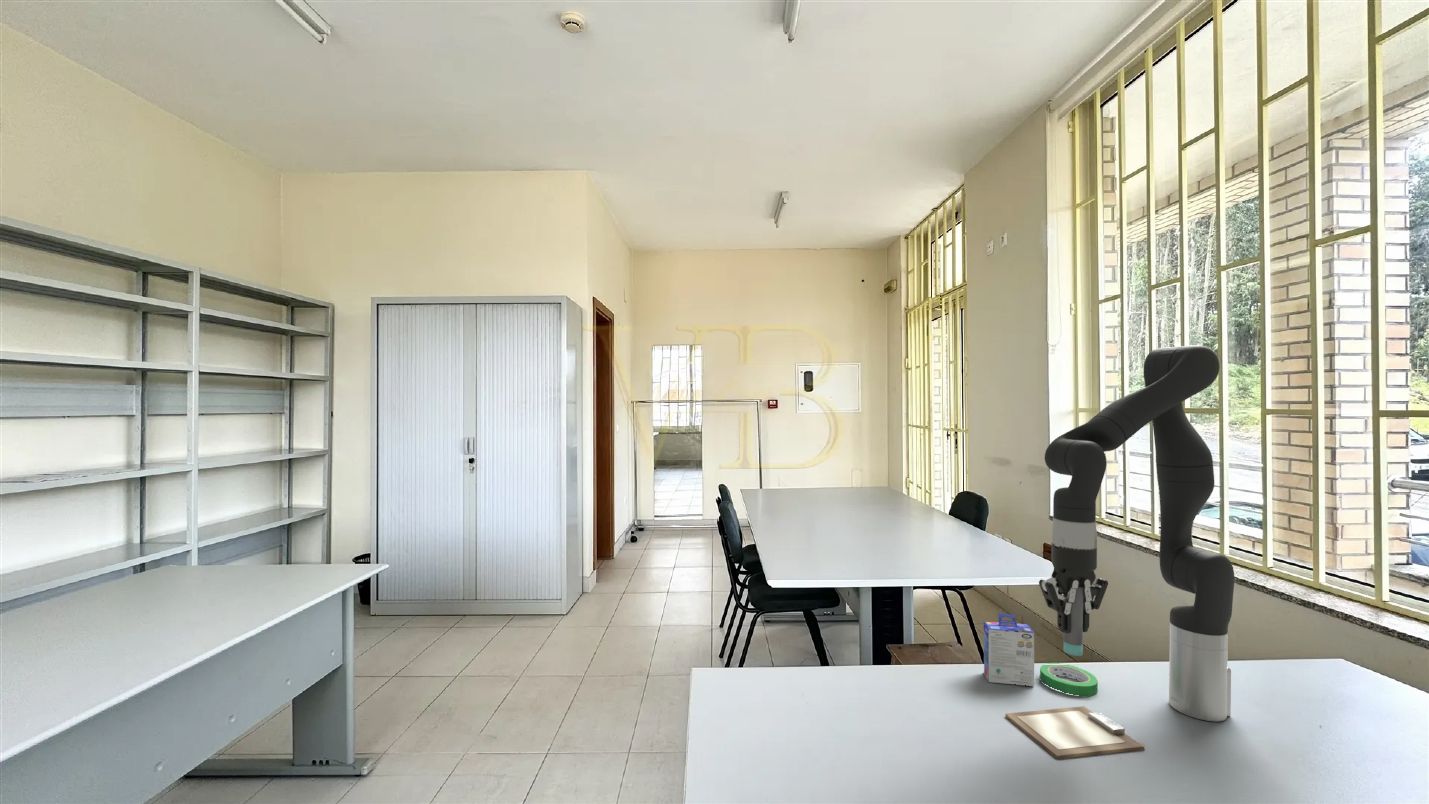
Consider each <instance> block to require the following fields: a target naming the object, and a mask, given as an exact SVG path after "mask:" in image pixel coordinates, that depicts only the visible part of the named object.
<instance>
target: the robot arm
mask: <svg viewBox="0 0 1429 804" xmlns="http://www.w3.org/2000/svg"><path fill="white" fill-rule="evenodd" d="M1220 365H1221V364H1220V361H1219V357H1218V355H1217V354H1216V353H1215V352H1214V350H1213V349H1212V348H1210V347H1207V346H1204V345H1196V344H1194V345H1193V344H1192V345H1179V346H1169V347H1159V348H1155V349H1153V350H1151V351H1150V352H1149V353H1148V354H1147V355H1146V357H1145V359H1144V363H1143V380H1144V386H1145V387H1143V388H1141V389H1138V390H1136V391H1134V392H1132V393H1130V394H1127V395H1125V396H1123V397H1121V398H1119V399H1116V400H1114V401H1113V402H1111V403H1109V404H1108V405H1106V407H1104V408H1103V409H1101V410H1100V411H1099V412H1098V413H1097V414H1096V415H1094V416H1093V417H1092V418H1091V419H1089V420H1088V421H1087V422H1085V423H1083V424H1082V425H1079V426H1077V427H1074V428H1073V429H1071V430H1069V431H1066V432H1065V433H1063V434H1061V435H1059V436H1057V438H1055V439H1053V440H1052V441H1051V443H1050V444H1049V445H1048V446H1047V448H1046V450H1045V453H1044V462H1045V465H1046V467H1047V468H1048V469H1049V470H1051V471H1052V472H1054V473H1055V474H1059V475H1063V476H1064V475H1065V476H1071V478H1070V479H1071V480H1070V482H1069V485H1068V487H1066V486H1065V487H1060V488H1058V489H1056V490H1054V493H1053V499H1052V500H1053V501H1052V502H1053V503H1052V504H1053V505H1052V508H1053V509H1052V511H1053V513H1052V516H1053V517H1052V525H1051V546H1050V547H1051V561H1050V562H1051V564H1052V566H1053V571H1052V572H1051V577H1050V578H1047V579H1046V580H1044V579H1040V580H1039V581H1038V584H1039V585H1038V586H1039V587H1040V590H1041V592H1042V595H1043V597H1044V600H1045V604H1046V606H1047V608H1050V609H1052V610H1053V611H1055V612H1057V615H1056V617H1057V622H1056V623H1057V624H1056V625H1057V628H1058V630H1059V631H1060V632H1062V633H1063V634H1064V633H1071V615H1070V610H1071V604H1072V603H1074V600H1075V594H1076V589H1077V588H1078V587H1083V633H1087V632H1089V631H1088V630H1089V629H1090V614H1091V612H1092V611H1093V610H1099V609H1100V607H1101V604H1102V602H1103V599H1104V596H1105V593H1106V591H1107V588H1108V587H1109V581H1108V580H1106V579H1105V578H1101V577H1099V576H1096V573H1095V571H1096V570H1097V568H1098V560H1097V559H1098V531H1097V524H1096V522H1097V521H1096V515H1097V514H1096V510H1097V509H1096V508H1097V507H1096V506H1097V505H1096V502H1097V499H1098V495H1099V492H1100V489H1101V487H1102V483H1103V481H1104V477H1105V474H1106V470H1107V463H1108V462H1107V456H1106V453H1105V452H1112V451H1115V450H1117V449H1118V448H1119V447H1121V446H1123V444H1125V442H1127V441H1128V440H1129V439H1130V438H1132V437H1133V436H1134V435H1135V434H1136V433H1137V432H1139V431H1140V430H1141V429H1142V428H1144V427H1145V426H1146V425H1148V424H1149V423H1151V422H1152V430H1153V438H1154V447H1155V448H1154V450H1155V466H1156V479H1157V485H1158V493H1159V494H1158V495H1159V497H1158V498H1159V511H1160V512H1159V513H1160V514H1159V515H1160V530H1159V531H1160V535H1159V568H1160V569H1159V570H1160V573H1161V577H1162V578H1163V580H1164V581H1165V582H1166V583H1167V585H1170V586H1171V587H1173V588H1175V589H1177V590H1181V591H1185V592H1187V593H1192V594H1193V595H1195V596H1194V602H1193V605H1177V606H1173V607H1172V608H1171V609H1170V611H1169V656H1168V658H1169V660H1168V661H1169V663H1168V666H1169V670H1168V671H1169V673H1168V676H1169V678H1168V705H1169V706H1171V707H1172V708H1173V709H1174V710H1176V711H1177V712H1179V713H1182V714H1184V715H1186V716H1188V717H1191V718H1194V719H1196V720H1197V719H1199V720H1202V721H1207V722H1224V721H1226V720H1227V718H1228V717H1229V716H1231V715H1232V714H1231V713H1232V711H1231V710H1232V709H1231V707H1232V701H1231V700H1232V699H1231V698H1232V670H1231V668H1230V667H1228V657H1229V656H1228V653H1229V651H1228V645H1229V644H1228V642H1229V639H1228V638H1229V637H1228V636H1229V635H1228V634H1229V631H1228V630H1229V624H1230V621H1231V619H1232V613H1233V603H1234V601H1233V600H1234V593H1235V592H1234V590H1235V571H1234V566H1233V564H1232V562H1231V560H1230V559H1229V558H1228V557H1227V556H1225V555H1223V554H1221V553H1218V552H1214V551H1210V550H1205V549H1201V548H1198V547H1197V548H1196V547H1194V544H1193V524H1194V521H1195V519H1196V517H1197V516H1198V514H1199V512H1200V511H1201V509H1203V507H1204V505H1206V503H1207V501H1208V500H1209V499H1210V497H1211V495H1212V494H1213V491H1214V488H1215V470H1214V469H1215V468H1214V460H1213V456H1212V452H1211V450H1210V448H1209V446H1208V445H1207V443H1206V442H1205V440H1204V439H1203V438H1202V437H1201V434H1200V433H1199V432H1198V431H1197V430H1196V428H1195V427H1194V426H1193V425H1192V423H1191V421H1190V420H1189V419H1188V417H1187V415H1186V413H1185V410H1184V406H1183V402H1185V401H1186V400H1188V399H1189V398H1191V397H1194V396H1195V395H1197V394H1200V392H1202V391H1204V390H1206V389H1207V388H1209V387H1210V386H1211V385H1212V384H1213V383H1214V382H1215V381H1216V379H1217V377H1218V375H1219V372H1220V367H1221V366H1220ZM1064 594H1065V595H1067V597H1066V596H1064Z"/></svg>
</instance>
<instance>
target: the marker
mask: <svg viewBox="0 0 1429 804" xmlns="http://www.w3.org/2000/svg"><path fill="white" fill-rule="evenodd" d="M1064 596H1066V597H1067V595H1065V594H1064ZM1070 615H1071V633H1064V632H1063V652H1064V653H1066V654H1067V655H1071V656H1075V657H1082V656H1083V655H1084V632H1083V587H1078V588H1077V589H1076V594H1075V600H1074V603H1072V604H1071V610H1070Z"/></svg>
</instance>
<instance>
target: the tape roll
mask: <svg viewBox="0 0 1429 804" xmlns="http://www.w3.org/2000/svg"><path fill="white" fill-rule="evenodd" d="M1046 664H1062V663H1060V662H1059V663H1058V662H1050V663H1049V662H1048V663H1046ZM1039 671H1040V672H1039V680H1040V679H1041V680H1040V682H1041V681H1042V682H1043V683H1044V684H1046V685H1048V686H1049V687H1052V688H1054V689H1057V690H1060V691H1062V692H1064V693H1069V694H1073V695H1079V696H1078V697H1081V696H1088V697H1092V696H1096V693H1097V694H1098V693H1099V692H1098V687H1099V686H1098V684H1099V682H1098V681H1099V680H1098V678H1097V677H1096V676H1095V675H1094V674H1092V673H1091V672H1089V671H1088V670H1085V669H1083V668H1080V667H1078V666H1075V665H1071V664H1067V665H1044V664H1042V665H1041V666H1040V669H1039ZM1054 675H1059V676H1054ZM1064 676H1068V677H1067V678H1070V679H1074V680H1076V679H1077V681H1076V682H1075V681H1070V680H1066V679H1063V678H1060V677H1064ZM1078 681H1079V682H1078ZM1042 682H1041V683H1042ZM1043 683H1042V684H1043ZM1044 684H1043V685H1044ZM1046 685H1045V686H1046ZM1049 687H1048V688H1049ZM1064 693H1063V694H1064Z"/></svg>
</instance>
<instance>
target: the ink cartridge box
mask: <svg viewBox="0 0 1429 804" xmlns="http://www.w3.org/2000/svg"><path fill="white" fill-rule="evenodd" d="M997 615H998V622H995V621H994V622H992V621H983V674H984V677H985V678H986V680H987V682H988V683H996V684H1005V685H1014V684H1016V686H1025V685H1026V686H1027V687H1028V686H1029V687H1035V631H1034V630H1033V629H1032V628H1031V627H1030V625H1028V624H1026V623H1017V620H1016V615H1015V614H1012V613H1000V612H999V613H998V614H997ZM1003 618H1009V619H1012V620H1003ZM1026 686H1025V687H1026Z"/></svg>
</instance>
